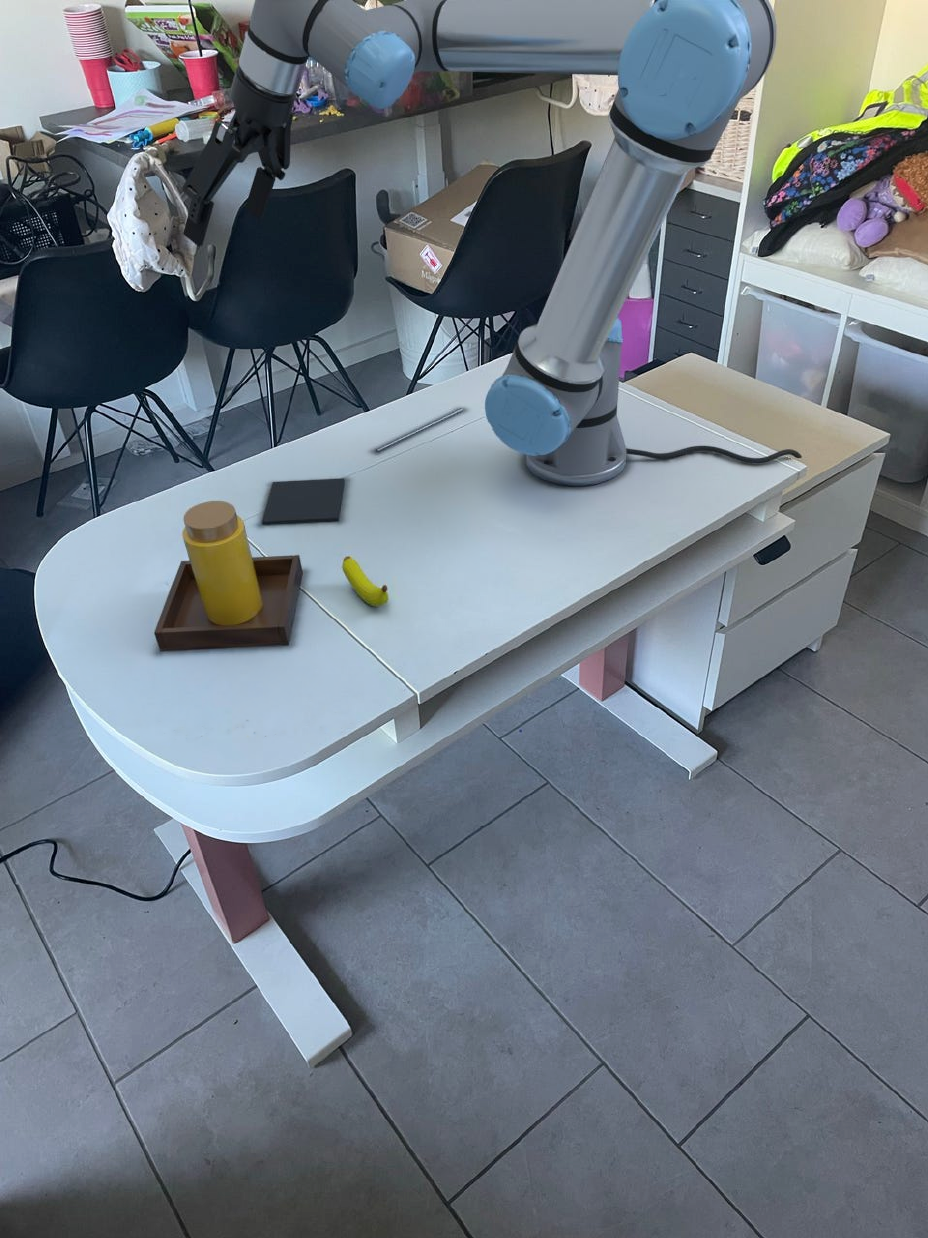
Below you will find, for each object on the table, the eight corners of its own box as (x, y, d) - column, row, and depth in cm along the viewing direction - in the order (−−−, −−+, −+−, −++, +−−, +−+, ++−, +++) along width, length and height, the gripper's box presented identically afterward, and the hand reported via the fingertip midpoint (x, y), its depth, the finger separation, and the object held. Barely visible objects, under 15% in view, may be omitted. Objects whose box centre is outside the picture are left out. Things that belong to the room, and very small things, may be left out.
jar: (266, 588, 118) (245, 496, 109) (258, 624, 112) (234, 529, 103) (211, 591, 118) (185, 499, 109) (200, 627, 112) (171, 533, 103)
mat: (345, 481, 138) (344, 477, 138) (338, 521, 130) (338, 517, 130) (273, 485, 139) (272, 481, 138) (262, 525, 130) (261, 521, 130)
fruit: (397, 615, 113) (393, 583, 110) (382, 622, 112) (378, 590, 109) (356, 577, 119) (351, 546, 116) (342, 583, 118) (336, 552, 115)
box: (303, 573, 121) (299, 554, 119) (288, 645, 109) (284, 626, 107) (186, 579, 121) (180, 560, 119) (160, 651, 110) (153, 632, 108)
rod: (463, 412, 155) (463, 408, 154) (378, 453, 145) (378, 449, 145) (460, 410, 155) (460, 407, 155) (375, 452, 146) (375, 448, 145)
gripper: (301, 46, 120) (256, 187, 135) (176, 74, 102) (141, 233, 118) (345, 82, 120) (296, 219, 135) (228, 116, 103) (187, 269, 118)
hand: (224, 226), depth 126 cm, fingers open, 13 cm apart
